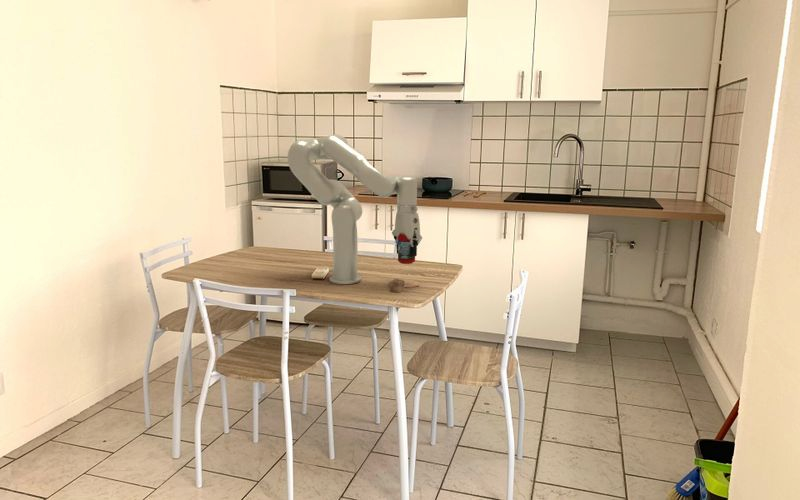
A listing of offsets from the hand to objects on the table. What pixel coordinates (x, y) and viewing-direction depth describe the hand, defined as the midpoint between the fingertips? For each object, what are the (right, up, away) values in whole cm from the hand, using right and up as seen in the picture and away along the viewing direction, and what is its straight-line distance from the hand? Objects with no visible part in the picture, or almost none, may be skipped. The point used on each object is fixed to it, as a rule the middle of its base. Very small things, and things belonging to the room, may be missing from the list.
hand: (406, 254), depth 230 cm
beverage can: (0, -3, +1) cm, 4 cm away
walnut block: (-4, -14, -7) cm, 16 cm away
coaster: (0, -12, +3) cm, 12 cm away
